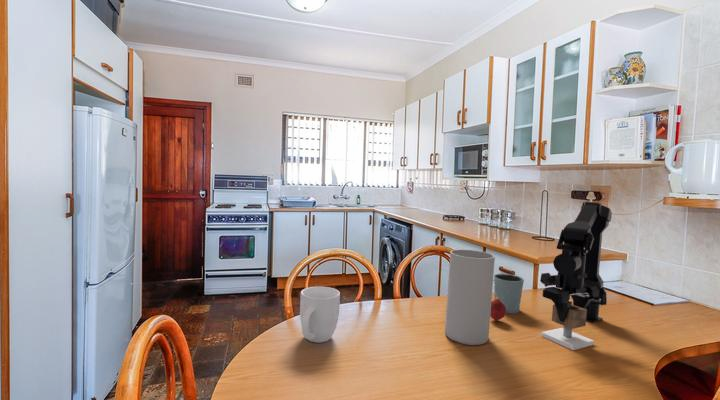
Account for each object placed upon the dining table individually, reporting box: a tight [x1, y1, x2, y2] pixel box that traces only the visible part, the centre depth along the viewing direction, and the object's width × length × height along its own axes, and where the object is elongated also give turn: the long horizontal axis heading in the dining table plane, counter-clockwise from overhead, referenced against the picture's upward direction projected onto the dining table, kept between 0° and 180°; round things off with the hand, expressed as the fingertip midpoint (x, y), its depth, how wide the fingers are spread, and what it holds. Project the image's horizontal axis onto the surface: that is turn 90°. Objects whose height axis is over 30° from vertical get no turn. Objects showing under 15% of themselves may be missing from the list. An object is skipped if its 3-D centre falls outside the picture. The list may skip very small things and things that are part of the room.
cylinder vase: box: [444, 249, 496, 346], centre depth 108 cm, size 12×12×25 cm
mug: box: [299, 286, 341, 343], centre depth 101 cm, size 15×11×13 cm
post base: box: [540, 326, 595, 351], centre depth 110 cm, size 10×10×6 cm
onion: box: [490, 297, 507, 322], centre depth 123 cm, size 6×6×8 cm
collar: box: [551, 303, 587, 330], centre depth 110 cm, size 6×6×5 cm
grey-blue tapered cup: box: [493, 273, 525, 314], centre depth 135 cm, size 10×10×12 cm
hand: (568, 320), depth 110 cm, fingers closed on collar, 6 cm apart
